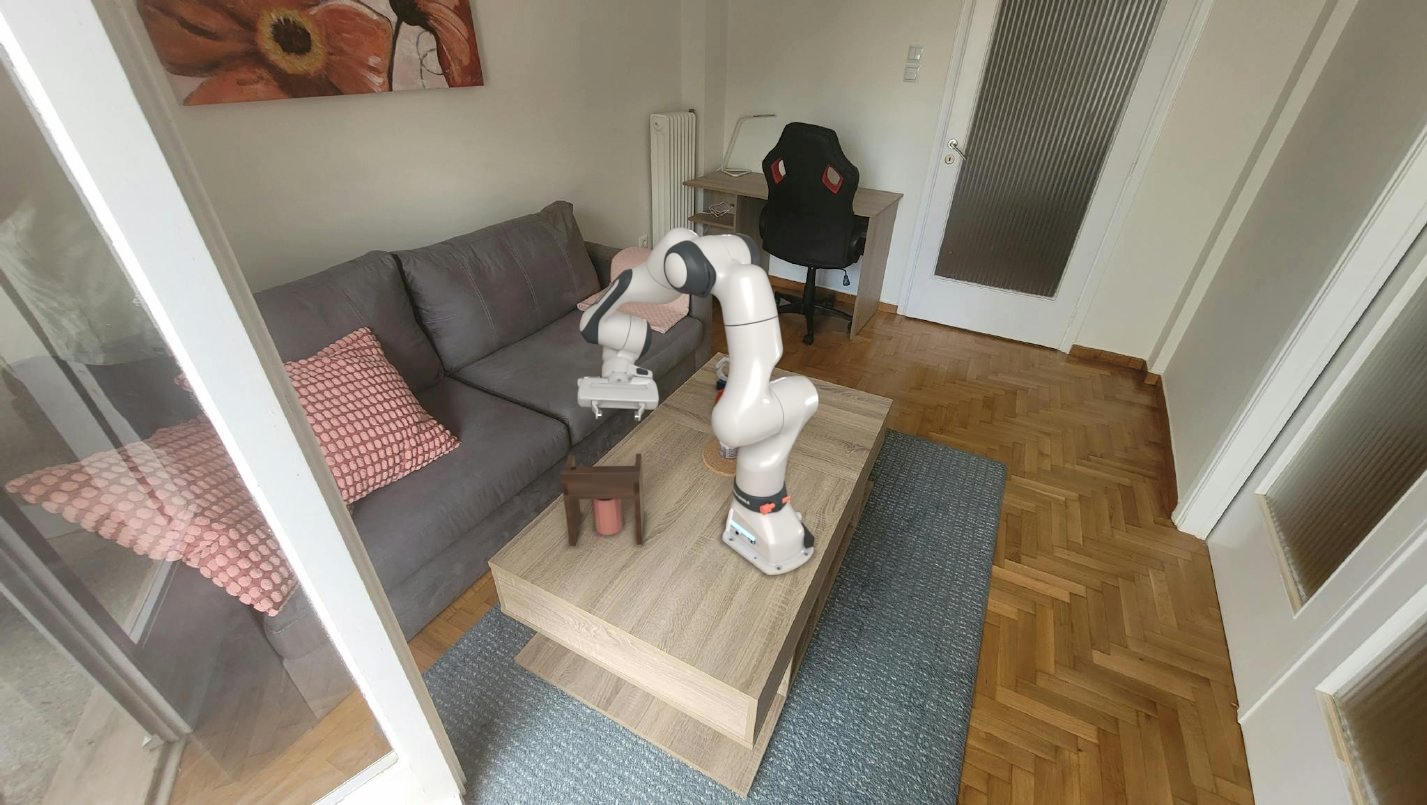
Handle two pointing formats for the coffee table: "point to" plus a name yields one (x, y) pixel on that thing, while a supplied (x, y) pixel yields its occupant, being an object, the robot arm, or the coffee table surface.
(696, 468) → the coffee table surface
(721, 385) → the watch
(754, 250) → the robot arm
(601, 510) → the cup
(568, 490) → the dark wooden stand
